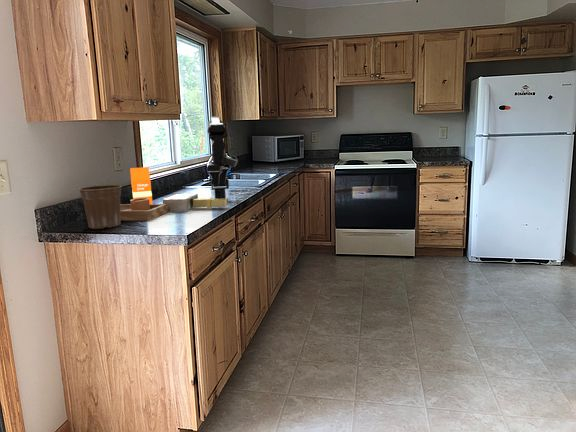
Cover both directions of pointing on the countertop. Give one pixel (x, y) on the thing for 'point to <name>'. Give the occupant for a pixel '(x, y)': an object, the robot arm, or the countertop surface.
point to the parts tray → (142, 212)
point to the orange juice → (141, 183)
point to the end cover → (210, 202)
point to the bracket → (139, 204)
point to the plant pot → (102, 205)
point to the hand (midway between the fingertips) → (220, 184)
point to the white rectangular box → (180, 202)
